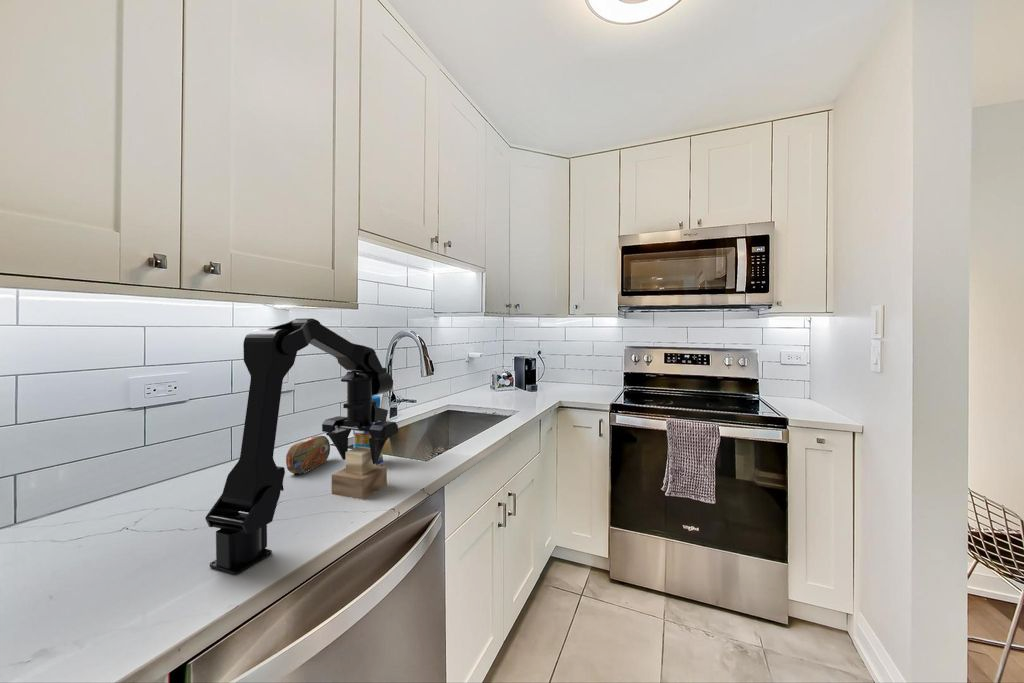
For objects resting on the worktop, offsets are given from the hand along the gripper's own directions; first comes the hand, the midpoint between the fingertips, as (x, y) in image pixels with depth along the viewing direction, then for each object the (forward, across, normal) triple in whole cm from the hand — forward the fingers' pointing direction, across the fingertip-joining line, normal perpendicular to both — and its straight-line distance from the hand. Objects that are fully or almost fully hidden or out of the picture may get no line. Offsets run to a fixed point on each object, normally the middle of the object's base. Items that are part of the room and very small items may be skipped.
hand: (359, 461), depth 95 cm
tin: (+7, +24, -7) cm, 26 cm away
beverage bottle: (+7, +10, -15) cm, 19 cm away
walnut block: (+7, 0, 0) cm, 7 cm away
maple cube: (+2, 0, 0) cm, 2 cm away
